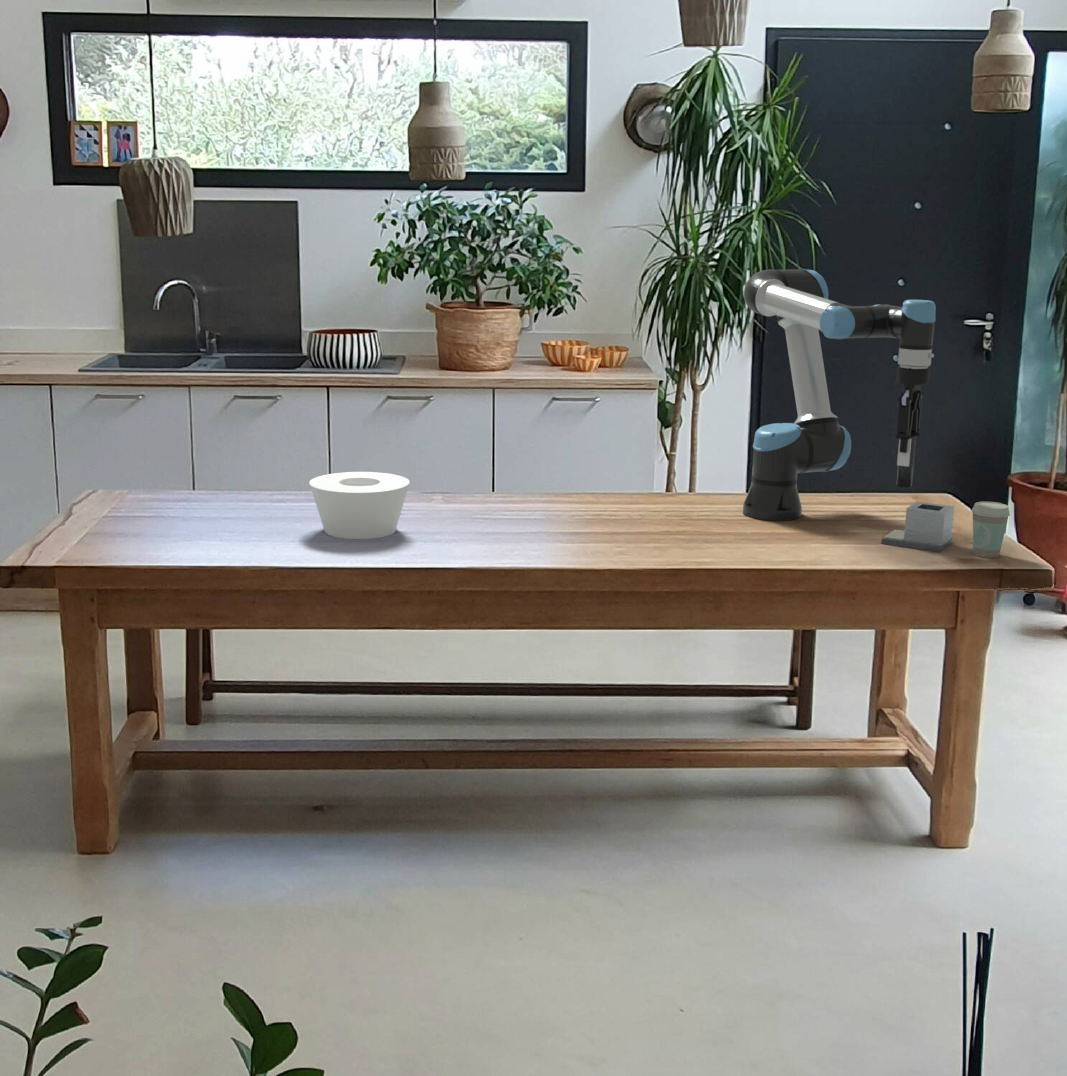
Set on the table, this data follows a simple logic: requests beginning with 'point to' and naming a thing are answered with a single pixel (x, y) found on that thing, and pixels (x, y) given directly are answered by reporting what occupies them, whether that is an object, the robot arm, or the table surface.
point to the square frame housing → (924, 528)
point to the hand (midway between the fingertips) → (905, 464)
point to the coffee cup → (989, 528)
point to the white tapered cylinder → (359, 503)
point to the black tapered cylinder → (907, 468)
